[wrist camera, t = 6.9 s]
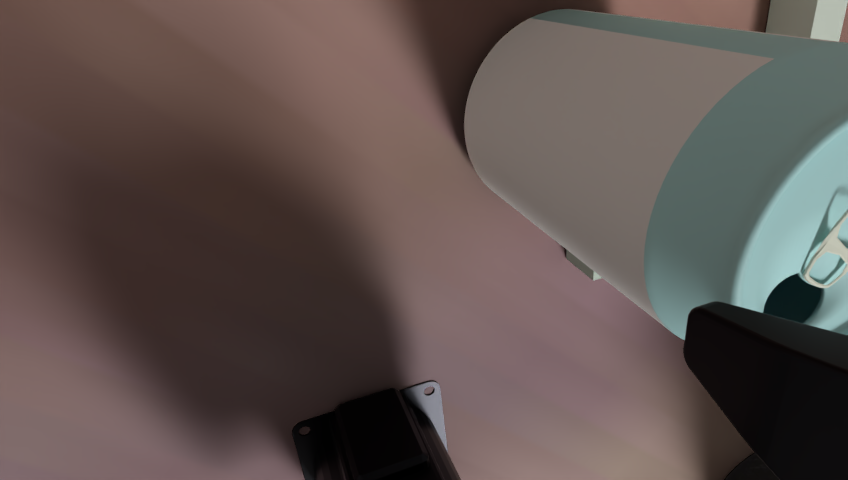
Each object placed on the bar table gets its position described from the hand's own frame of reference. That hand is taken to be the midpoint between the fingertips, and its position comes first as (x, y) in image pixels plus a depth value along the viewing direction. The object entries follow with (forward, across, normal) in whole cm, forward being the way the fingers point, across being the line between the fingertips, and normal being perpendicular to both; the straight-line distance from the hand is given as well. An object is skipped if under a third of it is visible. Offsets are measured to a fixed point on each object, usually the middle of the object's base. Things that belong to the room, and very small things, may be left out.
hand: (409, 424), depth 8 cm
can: (+13, -10, 0) cm, 16 cm away
